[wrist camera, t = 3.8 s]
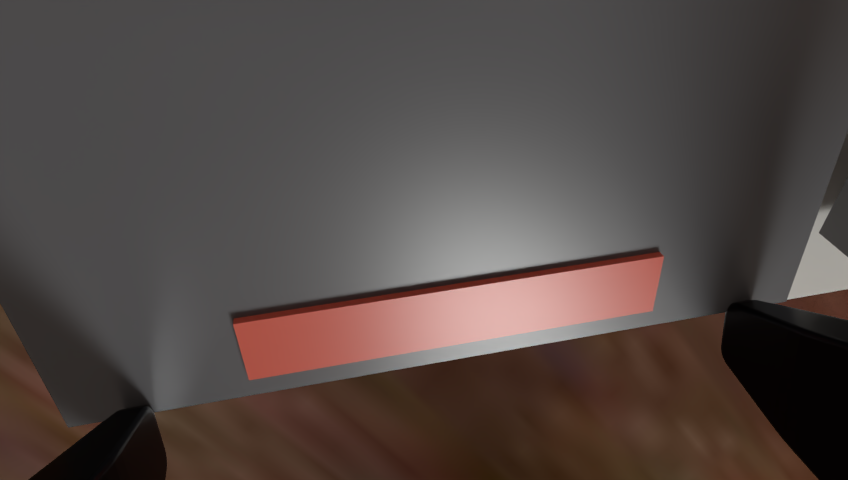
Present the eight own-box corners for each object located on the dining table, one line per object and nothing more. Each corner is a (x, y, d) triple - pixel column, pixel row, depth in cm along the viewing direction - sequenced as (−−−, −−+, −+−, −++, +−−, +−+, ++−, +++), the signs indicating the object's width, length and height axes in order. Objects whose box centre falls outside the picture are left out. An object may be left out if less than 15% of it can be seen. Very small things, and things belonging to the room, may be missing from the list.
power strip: (1259, -274, 12) (1630, -375, 9) (1073, 183, 16) (1277, 235, 13) (-37, -248, 9) (-259, -400, 5) (145, 328, 13) (87, 452, 9)
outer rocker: (883, -234, 7) (999, -258, 6) (738, 261, 10) (791, 306, 9) (-177, -202, 5) (-304, -227, 4) (93, 366, 9) (65, 434, 8)
